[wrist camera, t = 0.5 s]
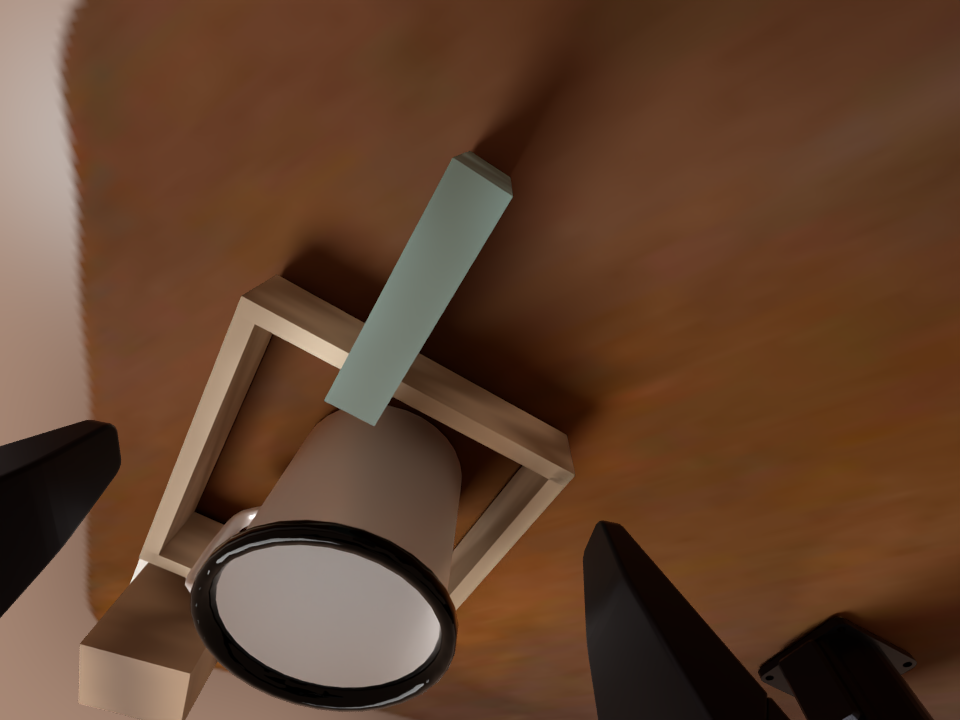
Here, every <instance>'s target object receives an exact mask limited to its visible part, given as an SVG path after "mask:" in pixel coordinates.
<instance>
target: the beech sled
mask: <svg viewBox="0 0 960 720" xmlns="http://www.w3.org/2000/svg"><path fill="white" fill-rule="evenodd" d="M512 197H513V193H512V185H511V178H510V177H509V176H507V175H506V174H504V173H503V172H501V171H500V170H498V169H497V168H495V167H494V166H492V165H491V164H489V163H488V162H486V161H485V160H483V159H482V158H480V157H478V156H477V155H475V154H474V153H472V152H471V151H468V152H466V153H463V154H461V155H458V156H455V157H453V158H452V160H451V162H450V164H449V166H448V168H447V170H446V171H445V173H444V175H443V177H442V179H441V181H440V183H439V185H438V187H437V188H436V190H435V192H434V194H433V196H432V198H431V200H430V202H429V204H428V205H427V207H426V209H425V211H424V213H423V215H422V217H421V219H420V221H419V222H418V224H417V226H416V228H415V230H414V232H413V234H412V236H411V238H410V239H409V241H408V243H407V245H406V247H405V249H404V251H403V253H402V255H401V256H400V258H399V260H398V262H397V264H396V266H395V268H394V270H393V272H392V273H391V275H390V277H389V279H388V281H387V283H386V285H385V287H384V289H383V290H382V292H381V294H380V296H379V298H378V300H377V302H376V304H375V306H374V307H373V309H372V311H371V313H370V315H369V317H368V319H367V321H366V323H364V322H362V321H360V320H358V319H356V318H354V317H353V316H351V315H349V314H347V313H345V312H344V311H342V310H340V309H338V308H336V307H335V306H333V305H331V304H329V303H327V302H326V301H324V300H322V299H320V298H318V297H316V296H315V295H313V294H311V293H309V292H307V291H306V290H304V289H302V288H300V287H298V286H297V285H295V284H293V283H291V282H289V281H288V280H286V279H284V278H282V277H280V276H279V275H275V276H274V277H272V278H270V279H269V280H267V281H265V282H264V283H262V284H261V285H259V286H257V287H256V288H254V289H252V290H251V291H249V292H247V293H246V294H244V295H242V296H241V299H240V301H239V304H238V306H237V309H236V311H235V314H234V316H233V319H232V322H231V324H230V327H229V329H228V332H227V334H226V337H225V339H224V342H223V344H222V347H221V350H220V352H219V355H218V357H217V360H216V362H215V365H214V367H213V370H212V373H211V375H210V378H209V380H208V383H207V385H206V388H205V390H204V393H203V396H202V398H201V401H200V403H199V406H198V408H197V411H196V413H195V416H194V418H193V421H192V424H191V426H190V429H189V431H188V434H187V436H186V439H185V441H184V444H183V447H182V449H181V452H180V454H179V457H178V459H177V462H176V464H175V467H174V470H173V472H172V475H171V477H170V480H169V482H168V485H167V487H166V490H165V492H164V495H163V498H162V500H161V503H160V505H159V508H158V510H157V513H156V515H155V518H154V521H153V523H152V526H151V528H150V531H149V533H148V536H147V538H146V541H145V544H144V546H143V549H142V551H141V554H140V556H139V559H142V560H144V561H147V562H149V563H151V564H154V565H156V566H159V567H161V568H164V569H166V570H168V571H171V572H173V573H176V574H178V575H181V576H183V577H185V578H186V577H187V575H188V573H189V572H190V570H191V569H192V568H193V566H194V565H195V563H196V562H197V560H198V559H199V557H200V556H201V554H202V553H203V552H204V550H205V549H206V547H207V546H208V545H209V543H210V542H211V541H212V540H213V538H214V537H215V536H216V535H217V533H218V532H219V531H220V530H221V528H222V527H223V526H224V525H223V524H221V523H219V522H216V521H214V520H212V519H210V518H207V517H205V516H203V515H200V514H198V513H196V512H194V511H195V509H196V507H197V505H198V502H199V500H200V498H201V496H202V493H203V491H204V489H205V486H206V484H207V482H208V480H209V477H210V475H211V473H212V471H213V468H214V466H215V464H216V461H217V459H218V457H219V455H220V452H221V450H222V448H223V445H224V443H225V441H226V439H227V436H228V434H229V432H230V430H231V427H232V425H233V423H234V420H235V418H236V416H237V414H238V411H239V409H240V407H241V405H242V402H243V400H244V398H245V395H246V393H247V391H248V389H249V386H250V384H251V382H252V379H253V377H254V375H255V373H256V370H257V368H258V366H259V364H260V361H261V359H262V357H263V354H264V352H265V350H266V348H267V345H268V343H269V341H270V339H271V336H272V334H275V335H277V336H278V337H280V338H282V339H284V340H286V341H288V342H290V343H292V344H294V345H295V346H297V347H299V348H301V349H303V350H305V351H307V352H309V353H311V354H313V355H314V356H316V357H318V358H320V359H322V360H324V361H326V362H328V363H330V364H331V365H333V366H335V367H337V368H339V369H341V370H340V372H339V374H338V375H337V377H336V379H335V381H334V383H333V385H332V387H331V389H330V391H329V392H328V394H327V396H326V398H325V400H324V401H325V402H327V403H329V404H331V405H333V406H335V407H337V408H339V409H341V410H343V411H345V412H347V413H349V414H351V415H353V416H355V417H357V418H359V419H361V420H363V421H365V422H367V423H369V424H370V425H372V426H375V425H376V423H377V421H378V420H379V418H380V416H381V415H382V413H383V411H384V410H385V408H386V406H387V405H388V403H389V401H390V400H391V398H392V397H394V398H396V399H398V400H400V401H402V402H403V403H405V404H407V405H409V406H411V407H413V408H415V409H417V410H419V411H421V412H422V413H424V414H426V415H428V416H430V417H432V418H434V419H436V420H438V421H439V422H441V423H443V424H445V425H447V426H449V427H451V428H453V429H455V430H456V431H458V432H460V433H462V434H464V435H466V436H468V437H470V438H472V439H474V440H475V441H477V442H479V443H481V444H483V445H485V446H487V447H489V448H491V449H492V450H494V451H496V452H498V453H500V454H502V455H504V456H506V457H508V458H510V459H511V460H513V461H515V462H517V463H519V464H521V465H522V467H521V468H520V469H519V470H518V472H517V473H516V474H515V475H514V477H513V478H512V479H511V480H510V482H509V483H508V484H507V485H506V486H505V488H504V489H503V490H502V491H501V493H500V494H499V495H498V496H497V498H496V499H495V500H494V501H493V503H492V504H491V505H490V506H489V507H488V509H487V510H486V511H485V512H484V514H483V515H482V516H481V517H480V519H479V520H478V521H477V522H476V524H475V525H474V526H473V527H472V529H471V530H470V531H469V532H468V533H467V535H466V536H465V537H464V538H463V540H462V541H461V542H460V543H459V545H458V546H457V547H456V548H455V550H454V551H453V553H452V561H451V569H450V576H449V584H448V593H449V595H450V597H451V600H452V602H453V604H454V606H455V609H456V610H457V609H458V607H459V606H460V605H461V604H462V603H463V602H464V601H465V599H466V598H467V597H468V596H469V595H470V594H471V593H472V592H473V590H474V589H475V588H476V587H477V586H478V585H479V584H480V582H481V581H482V580H483V579H484V578H485V577H486V576H487V574H488V573H489V572H490V571H491V570H492V569H493V568H494V567H495V565H496V564H497V563H498V562H499V561H500V560H501V559H502V557H503V556H504V555H505V554H506V553H507V552H508V551H509V550H510V548H511V547H512V546H513V545H514V544H515V543H516V542H517V540H518V539H519V538H520V537H521V536H522V535H523V534H524V533H525V531H526V530H527V529H528V528H529V527H530V526H531V525H532V523H533V522H534V521H535V520H536V519H537V518H538V517H539V516H540V514H541V513H542V512H543V511H544V510H545V509H546V508H547V506H548V505H549V504H550V503H551V502H552V501H553V500H554V499H555V497H556V496H557V495H558V494H559V493H560V492H561V491H562V489H563V488H564V487H565V486H566V485H567V484H568V483H569V482H570V480H571V479H572V478H573V477H574V476H575V471H574V467H573V462H572V457H571V452H570V447H569V442H568V438H567V435H566V434H564V433H562V432H561V431H559V430H557V429H555V428H553V427H552V426H550V425H548V424H546V423H544V422H543V421H541V420H539V419H537V418H535V417H533V416H532V415H530V414H528V413H526V412H524V411H523V410H521V409H519V408H517V407H515V406H514V405H512V404H510V403H508V402H506V401H505V400H503V399H501V398H499V397H497V396H496V395H494V394H492V393H490V392H488V391H486V390H485V389H483V388H481V387H479V386H477V385H476V384H474V383H472V382H470V381H468V380H467V379H465V378H463V377H461V376H459V375H458V374H456V373H454V372H452V371H450V370H448V369H447V368H445V367H443V366H441V365H439V364H438V363H436V362H434V361H432V360H430V359H429V358H427V357H425V356H423V355H421V354H420V353H419V352H420V350H421V348H422V347H423V345H424V343H425V342H426V340H427V338H428V337H429V335H430V333H431V332H432V330H433V328H434V327H435V325H436V323H437V322H438V320H439V318H440V317H441V315H442V313H443V312H444V310H445V308H446V307H447V305H448V303H449V302H450V300H451V298H452V297H453V295H454V293H455V292H456V290H457V288H458V287H459V285H460V283H461V282H462V280H463V279H464V277H465V275H466V274H467V272H468V270H469V269H470V267H471V265H472V264H473V262H474V260H475V259H476V257H477V255H478V254H479V252H480V250H481V249H482V247H483V245H484V244H485V242H486V240H487V239H488V237H489V235H490V234H491V232H492V230H493V229H494V227H495V225H496V224H497V222H498V220H499V219H500V217H501V215H502V214H503V212H504V210H505V209H506V207H507V206H508V204H509V202H510V201H511V199H512ZM238 533H240V532H238ZM238 533H237V534H238Z"/></svg>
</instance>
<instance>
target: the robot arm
mask: <svg viewBox="0 0 960 720" xmlns="http://www.w3.org/2000/svg"><path fill="white" fill-rule="evenodd" d="M120 465H121V455H120V448H119V440H118V433H117V429H116V428H115V426H114V425H112V424H110V423H105V422H100V421H95V420H85V421H82V422H78V423H75V424H72V425H69V426H66V427H62V428H59V429H56V430H52V431H49V432H46V433H42V434H39V435H36V436H33V437H29V438H26V439H23V440H19V441H16V442H13V443H9V444H6V445H3V446H0V618H1V617H2V615H3V614H4V613H5V612H6V611H7V610H8V609H9V608H10V606H11V605H12V604H13V603H14V602H15V601H16V599H18V597H19V596H20V595H21V594H22V593H23V592H24V590H26V588H27V587H28V586H29V585H30V584H31V583H32V582H33V581H34V579H35V578H36V577H37V576H38V575H39V574H40V572H41V571H42V570H43V569H44V568H45V567H46V566H47V565H48V564H49V562H50V561H51V560H52V559H53V558H54V557H55V555H56V554H57V553H58V552H59V551H60V549H61V548H62V547H63V546H64V545H65V543H66V542H67V541H68V539H69V538H70V537H71V536H72V534H73V533H74V531H75V530H76V529H77V527H78V526H79V525H80V523H81V522H82V521H83V519H84V518H85V516H86V515H87V514H88V512H89V511H90V510H91V508H92V507H93V506H94V504H95V503H96V501H97V500H98V499H99V497H100V496H101V495H102V493H103V492H104V491H105V489H106V488H107V486H108V485H109V484H110V482H111V481H112V480H113V478H114V477H115V475H116V474H117V472H118V470H119V468H120ZM583 573H584V595H585V617H586V636H587V647H588V655H589V662H590V669H591V675H592V682H593V688H594V695H595V702H596V708H597V715H598V720H790V719H789V718H788V717H787V715H786V714H785V713H784V712H783V711H782V710H781V708H780V707H779V706H778V705H777V704H776V703H775V701H774V700H773V699H772V698H769V697H768V698H767V693H766V691H765V690H764V689H763V688H762V687H761V686H760V684H759V683H758V682H757V681H756V680H755V679H754V677H753V676H752V675H751V674H750V673H749V672H748V671H747V669H746V668H745V667H744V666H743V665H742V664H741V662H740V661H739V660H738V659H737V658H736V657H735V656H734V654H733V653H732V652H731V651H730V650H729V649H728V647H727V646H726V645H725V644H724V643H723V642H722V641H721V639H720V638H719V637H718V636H717V635H716V634H715V632H714V631H713V630H712V629H711V628H710V627H709V626H708V624H707V623H706V622H705V621H704V620H703V619H702V617H701V616H700V615H699V614H698V613H697V612H696V610H695V609H694V608H693V607H692V606H691V605H690V604H689V602H688V601H687V600H686V599H685V598H684V597H683V595H682V594H681V593H680V592H679V591H678V590H677V589H676V587H675V586H674V585H673V584H672V583H671V582H670V580H669V579H668V578H667V577H666V576H665V575H664V574H663V572H662V571H661V570H660V569H659V568H658V567H657V565H656V564H655V563H654V562H653V561H652V560H651V559H650V557H649V556H648V555H647V554H646V553H645V552H644V550H643V549H642V548H641V547H640V546H639V545H638V544H637V542H636V541H635V540H634V539H633V538H632V537H631V535H630V534H629V533H628V532H627V531H626V530H625V529H624V527H623V526H622V525H620V524H618V523H613V522H608V521H599V522H598V523H597V524H596V526H595V528H594V530H593V533H592V535H591V537H590V539H589V542H588V544H587V546H586V548H585V551H584V556H583ZM916 664H917V662H916V661H915V659H914V658H913V657H912V655H911V654H909V653H908V652H906V651H904V650H902V649H900V648H898V647H896V646H894V645H893V644H891V643H889V642H887V641H885V640H883V639H881V638H880V637H878V636H876V635H874V634H872V633H870V632H868V631H867V630H865V629H863V628H861V627H859V626H857V625H855V624H853V623H852V622H850V621H848V620H846V619H844V618H841V617H837V618H833V619H831V620H830V621H828V622H827V623H826V624H824V625H823V626H821V627H820V628H818V629H817V630H815V631H814V632H813V633H811V634H810V635H808V636H807V637H805V638H804V639H802V640H801V641H799V642H798V643H797V644H795V645H794V646H792V647H791V648H789V649H788V650H786V651H785V652H784V653H782V654H781V655H779V656H778V657H776V658H775V659H773V660H772V661H771V662H769V663H768V664H766V665H765V666H763V667H762V668H760V669H759V671H758V674H759V676H760V678H761V680H762V681H763V682H765V683H767V684H769V685H771V686H773V687H775V688H777V689H779V690H781V691H783V692H785V693H787V694H789V695H792V696H794V697H795V698H796V700H797V702H798V704H799V706H800V708H801V710H802V712H803V714H804V715H805V717H806V719H807V720H934V719H933V718H932V717H931V715H930V714H929V712H928V711H927V710H926V708H925V707H924V706H923V704H922V703H921V702H920V700H919V699H918V697H917V696H916V695H915V693H914V692H913V691H912V689H911V688H910V687H909V685H908V684H907V683H906V681H905V680H904V678H903V677H902V676H901V675H902V674H904V673H905V672H907V671H909V670H910V669H912V668H914V667H915V666H916Z"/></svg>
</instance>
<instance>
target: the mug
mask: <svg viewBox="0 0 960 720" xmlns="http://www.w3.org/2000/svg"><path fill="white" fill-rule="evenodd" d="M461 482H462V473H461V466H460V462H459V459H458V457H457V454H456V452H455V450H454V448H453V447H452V445H451V444H450V442H449V441H448V439H447V438H446V437H445V436H444V435H443V434H442V433H441V432H440V431H439V430H438V429H437V428H436V427H435V426H433V425H432V424H431V423H429V422H428V421H426V420H425V419H423V418H422V417H420V416H418V415H415V414H413V413H411V412H409V411H407V410H403V409H400V408H396V407H392V406H386V408H385V410H384V411H383V413H382V415H381V416H380V418H379V420H378V421H377V423H376V425H375V426H372V425H370V424H369V423H367V422H365V421H363V420H361V419H359V418H357V417H355V416H353V415H351V414H349V413H347V412H345V411H343V410H338V411H336V412H334V413H332V414H330V415H328V416H327V417H325V418H324V419H323V420H322V421H320V422H319V423H318V424H316V426H315V427H314V428H313V430H312V431H311V432H310V433H309V435H308V436H307V438H306V439H305V441H304V442H303V444H302V445H301V447H300V448H299V450H298V451H297V453H296V454H295V456H294V457H293V459H292V460H291V462H290V463H289V465H288V466H287V468H286V470H285V471H284V473H283V474H282V476H281V477H280V479H279V480H278V482H277V483H276V485H275V486H274V488H273V489H272V491H271V492H270V494H269V495H268V497H267V498H266V500H265V501H264V503H263V504H262V506H259V507H254V508H250V509H246V510H242V511H241V512H239V513H237V514H235V515H234V516H233V517H231V518H230V519H229V520H228V521H227V522H226V524H225V525H224V526H223V527H222V528H221V530H220V531H219V532H218V533H217V535H216V536H215V537H214V538H213V540H212V541H211V542H210V543H209V545H208V546H207V547H206V549H205V550H204V552H203V553H202V554H201V556H200V557H199V559H198V560H197V562H196V563H195V565H194V566H193V568H192V569H191V570H190V572H189V573H188V575H187V577H186V581H185V586H186V587H187V589H188V591H189V592H190V612H191V616H192V620H193V624H194V627H195V629H196V631H197V633H198V635H199V637H200V639H201V640H202V642H203V644H204V646H205V647H206V648H207V649H208V651H209V652H210V653H211V654H212V655H213V657H214V658H215V659H216V660H217V661H218V662H219V663H220V664H221V665H222V666H224V667H225V668H226V669H227V670H228V671H229V672H230V673H232V674H233V675H234V676H236V677H237V678H239V679H241V680H242V681H244V682H245V683H247V684H248V685H250V686H251V687H253V688H255V689H257V690H259V691H262V692H264V693H266V694H268V695H270V696H272V697H275V698H278V699H281V700H284V701H286V702H289V703H292V704H296V705H300V706H305V707H310V708H315V709H320V710H329V711H339V712H350V711H351V712H352V711H369V710H376V709H383V708H387V707H390V706H394V705H397V704H401V703H404V702H406V701H408V700H410V699H412V698H414V697H416V696H418V695H420V694H422V693H424V692H425V691H426V690H428V689H429V688H430V687H432V686H433V685H434V684H436V683H437V682H438V681H439V680H440V678H441V677H442V676H443V675H444V673H445V672H446V671H447V670H448V668H449V666H450V663H451V661H452V659H453V656H454V654H455V648H456V643H457V634H458V620H457V614H456V609H455V606H454V604H453V602H452V600H451V597H450V595H449V593H448V584H449V576H450V569H451V561H452V553H453V546H454V538H455V530H456V522H457V515H458V507H459V499H460V491H461ZM247 526H248V527H247ZM245 527H247V529H246V530H245V531H242V532H240V533H238V532H239V531H240V530H241V529H243V528H245ZM237 533H238V534H237Z"/></svg>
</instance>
